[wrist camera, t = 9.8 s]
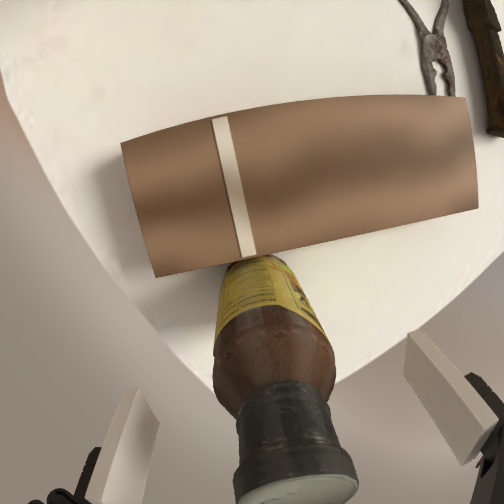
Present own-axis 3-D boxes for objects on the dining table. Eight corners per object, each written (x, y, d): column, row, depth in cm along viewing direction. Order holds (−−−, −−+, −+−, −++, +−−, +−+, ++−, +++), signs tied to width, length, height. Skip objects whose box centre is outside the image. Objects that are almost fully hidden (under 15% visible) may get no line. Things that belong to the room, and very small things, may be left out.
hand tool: (501, 140, 23) (529, 141, 18) (482, 134, 23) (511, 134, 18) (475, 5, 17) (496, -5, 13) (453, -6, 17) (475, -18, 13)
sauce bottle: (292, 311, 27) (363, 519, 8) (223, 315, 26) (214, 537, 7) (294, 244, 25) (418, 441, 6) (218, 247, 25) (181, 473, 6)
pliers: (431, -40, 15) (491, 104, 21) (427, -38, 16) (487, 104, 22) (365, -54, 15) (434, 104, 21) (363, -51, 16) (429, 105, 22)
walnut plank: (138, 145, 22) (119, 143, 18) (439, 102, 21) (466, 97, 18) (167, 260, 25) (155, 278, 21) (453, 201, 24) (479, 208, 20)
